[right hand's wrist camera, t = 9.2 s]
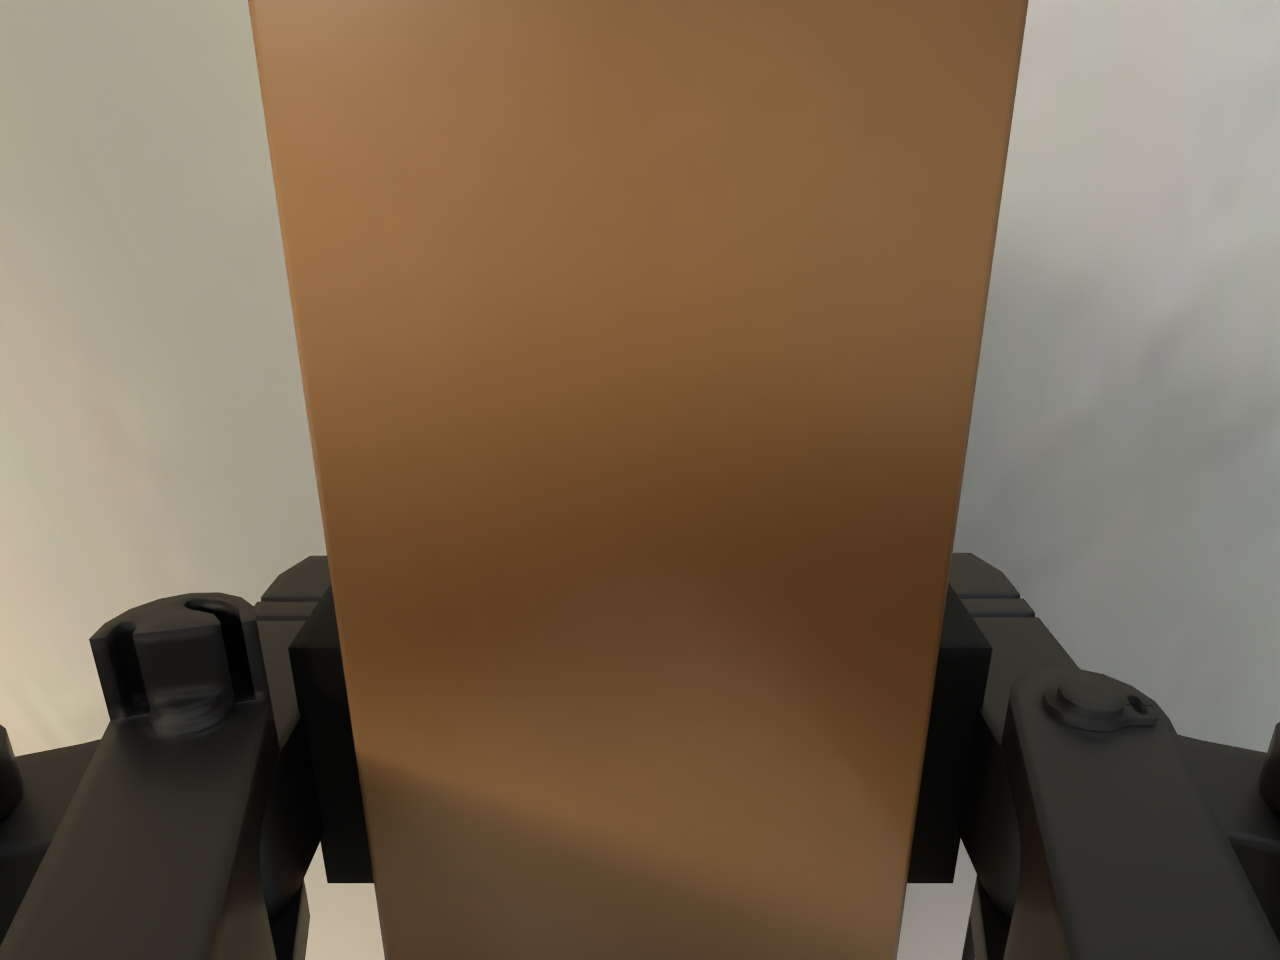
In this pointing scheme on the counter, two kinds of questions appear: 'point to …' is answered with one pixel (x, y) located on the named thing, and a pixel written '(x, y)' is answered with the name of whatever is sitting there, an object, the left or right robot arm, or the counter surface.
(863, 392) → the post
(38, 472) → the counter surface
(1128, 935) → the right robot arm
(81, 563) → the counter surface
